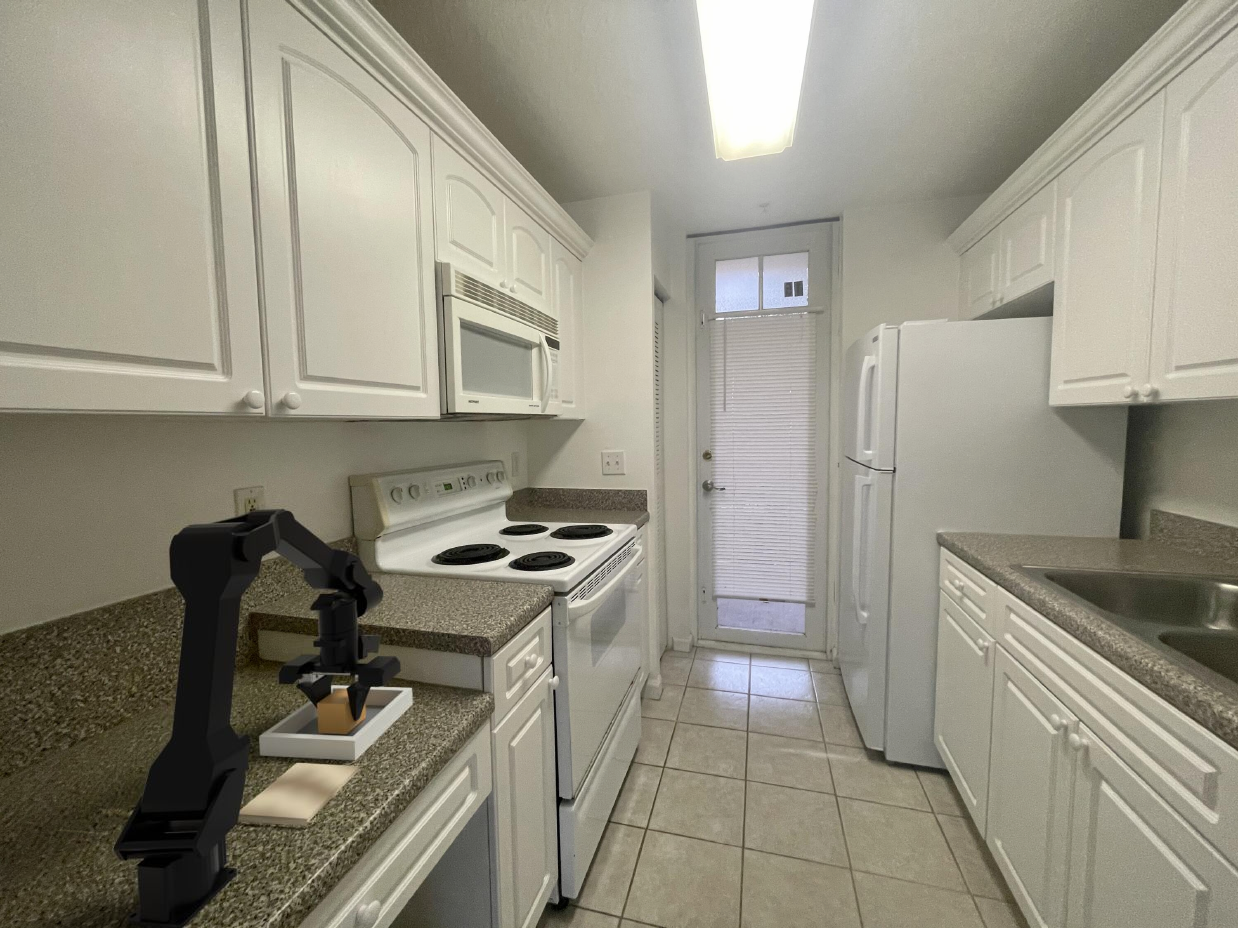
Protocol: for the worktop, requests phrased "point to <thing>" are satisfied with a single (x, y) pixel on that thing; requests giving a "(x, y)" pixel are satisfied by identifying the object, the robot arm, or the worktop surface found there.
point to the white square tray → (305, 741)
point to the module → (337, 713)
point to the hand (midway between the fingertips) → (342, 718)
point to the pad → (297, 794)
